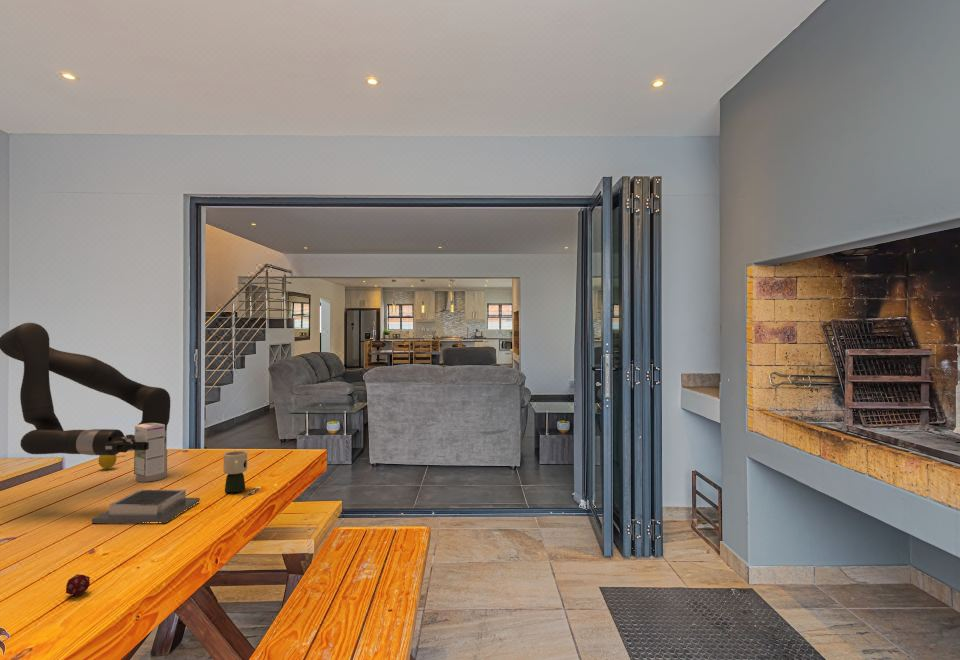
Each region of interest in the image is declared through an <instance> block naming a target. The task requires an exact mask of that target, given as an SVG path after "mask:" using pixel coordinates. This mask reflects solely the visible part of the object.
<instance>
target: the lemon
mask: <svg viewBox="0 0 960 660" xmlns="http://www.w3.org/2000/svg"><path fill="white" fill-rule="evenodd" d="M116 463H117V454H116V455H98V465H99V467H101V468H103V469H105V470H107V471H108V470H110V469H111V468H112V467H114V466H115V465H116Z"/></svg>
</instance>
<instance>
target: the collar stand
mask: <svg viewBox="0 0 960 660" xmlns="http://www.w3.org/2000/svg"><path fill="white" fill-rule="evenodd" d="M200 499H201V498H200V497H186V489H141V490H137V491H136V492H133V493H131V494H129V495H126V496H125V497H123V498H120V499H118V500H116V501H114V502H112V503H110V504H109V506H108V507H109V509H108V510H106V511H105V512H103V513H101V514H98V515H97V516H94V517H92V518H91V524H92V523H143V522H144V523H145V522H146V523H147V522H149V523H150V522H158V523H159V522H161V523H166V522H167V521H169V520H171V519H172V518H174V517H175V516H177V515H178V514H179V513H181V512H183V511H184V510H186V509H188V508H189V507H191V506H193V505H194V504H196V503H197V502H199V501H200V502H201V500H200ZM193 507H194V506H193ZM177 517H178V516H177ZM174 519H175V518H174ZM171 521H172V520H171ZM169 522H170V521H169ZM166 524H167V523H166Z"/></svg>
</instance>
